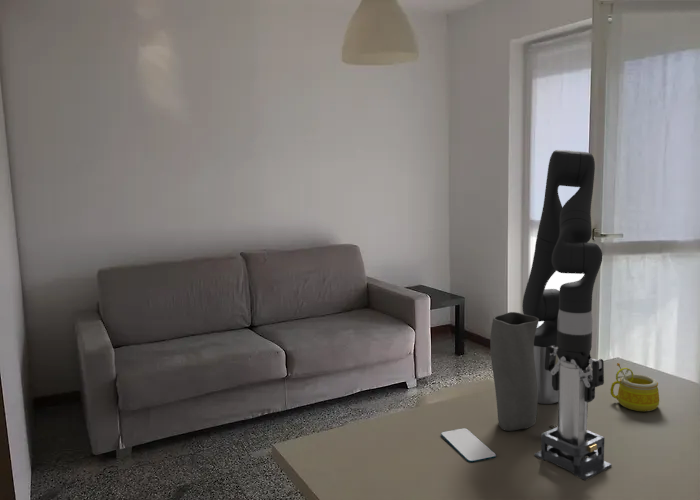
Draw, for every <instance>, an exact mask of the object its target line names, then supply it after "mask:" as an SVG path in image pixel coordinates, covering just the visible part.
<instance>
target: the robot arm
mask: <svg viewBox="0 0 700 500" xmlns="http://www.w3.org/2000/svg"><path fill="white" fill-rule="evenodd" d="M595 163H596V162H595V157H594V155H593V154H592V153H590V152H586V151H579V150H567V149H555V150H553V151H552V153H551V155H550V158H549V161H548V165H547V166H548V167H547V174H546V183H545V184H546V185H545V190H544V199H543V206H542V210H541V216H540V220H539V225H538V229H537V235H536V241H535V245H534V253H533V259H532V264H531V269H530V273H529V276H528V280H527V283H526V287H525V290H524V294H523V298H522V314H524V315H529V316H534V317H537V318H538V319H539V322H540V323H541V322H542V323H541V324H540V325H539V326H537V329H536V333H535V338H534V360H535V368H536V376H537V391H538V400H537V404H544V405H546V404H547V405H551V404H556V403H558V394H559V363H561V361H564V362H565V361H569V362H571V364H574V366H575V367H576V369H579V377H580V378H581V379H583V381H584V383H585V385H586V386H585V399H584V400H585V402H588V403H591V402H593V400H595V398H596V388H598V387H599V386H602V385H604V384H605V373H604V368H605V367H604V366H605V365H604V359H603V358H598V359H596V358H592V356H591V350H592V343H593V313H592V310H593V292H594V287H595V283H596V279H597V276H598V274H599V270H600V269H601V265H602V262H603V251H602V248H601V247H600V246H599V244H597V243H595V242H589V241H590V240H591V238H592V233H593V231H592V230H593V229H592V217H591V215H592V214H591V213H592V212H591V211H592V210H591V208H592V201H593V200H592V199H593V194H594V183H595V173H596V172H595V171H596V164H595ZM560 186H561V187H571V188H578V190H577V191H576V192H575V193H574V194H573V195H572V196H571V197H570V198H569V199H567V200H566V202H565V203H564V204H563V205H562V202H561V200H560V196H559V187H560ZM556 272H557V273H560V274H575V275H576V274H577V275H578V274H579V275H580V274H581V275H582V274H583V276H582V277H581V278H580V279H579V280H575V281H570V282H566V283H563V284H561V285H560V287H559V290H558V289H557V288H547V289H546V286H547V285H548V283H549V280H550V279H551V277H553V275H554V274H555V273H556ZM539 322H538V323H539ZM587 367H588V372H587V373H584V372H583V370H584V369H585V368H587Z"/></svg>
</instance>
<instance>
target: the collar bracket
mask: <svg viewBox="0 0 700 500" xmlns="http://www.w3.org/2000/svg"><path fill="white" fill-rule="evenodd" d="M540 438H541V440H540V441H541V442H540V443H541V444H540V445H541V447H540V448H541V449H540V450H539V451H537V452H535V453H534V454H533V455H534V457H536V458H537V459H539V460H542V461H548V462H550V463H552V464H554V465H557V466H558V467H560V468H563V469H565V470H567V471H568V472H571V473H573V475H574V477H577V478H579V479H582V480H584V481H587V480H589V479H591V478H593V477H595V476H596V475H599V474H600V473H602V472H604V471H606V470H608V469H609V468H612V466H613V465H612V463H610V462H608V461H605V436H602V435H600V434H598V433H595V432H593V431H590V430H588V429H587V442H586V443H584V444H582V445H580V446H578V447H576V446H574V445H572V444H569V443H567V442H565V441H562V440H560V439H558V426H557V427H554V428H552V429H549V430H546V431H545V432H542V433H541V437H540ZM557 449H559V450H561V451H563V452H565V453H568V454H570V455H572V456H574V462H573V461H571V460H568V459H566V458H564V457H562V456H560V455H558V454H557ZM585 454H586V459H584V460H582V461H580V460H581V456H583V455H585Z"/></svg>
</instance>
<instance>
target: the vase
mask: <svg viewBox="0 0 700 500" xmlns="http://www.w3.org/2000/svg"><path fill="white" fill-rule="evenodd" d="M538 325H539V319H538V318H537V317H534V316H529V315H524V314H523V313H521V312H518V311H517V312H516V311H509V312H506V313H503V314H498V315H495V316H494V317H493V318H492V323H491V328H490V329H491V330H490V346H489V347H490V348H489V349H490V359H491V366H492V367H491V368H492V373H493V381H494V389H495V398H496V409H497V422H498V425H499V427H500V428H501V429H502V430H504V431H508V432H514V431H517V430H525V429H529V428H531V427H533V426H534V425H535V424H536V421H537V416H538V415H537V414H538V403H537V400H538V391H537V376H536V368H535V360H534V338H535V333H536V329H537V328H538Z"/></svg>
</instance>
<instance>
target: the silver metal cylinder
mask: <svg viewBox="0 0 700 500" xmlns="http://www.w3.org/2000/svg"><path fill="white" fill-rule="evenodd" d="M583 372H584V373H587V372H588V367H587V368H585V369H584V370H583ZM585 386H586V385H585V383H584V381H583V379H581V378H580V377H579V369H576V367H575V366H574V364H571V362H569V361H565V362H564V361H561V363H559V394H558V402H557V403H558V405H557V411H558V412H557V427H558V439H560V440H562V441H565V442H567V443H569V444H572V445H574V446H576V447H578V446H580V445H582V444H584V443H586V442H588V440H587V430H588V415H589V414H588V409H589V408H588V406H589V405H588V404H589V402H585V400H584V399H585ZM556 454H558V455H560V456H562V457H564V458H566V459H568V460H571V461H573V462H574V456H572V455H570V454H568V453H565V452H563V451H561V450H559V449H557V453H556ZM586 458H587V456H586V454H585V455H583V456H581V460H580V461H582V460H584V459H586Z"/></svg>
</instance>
